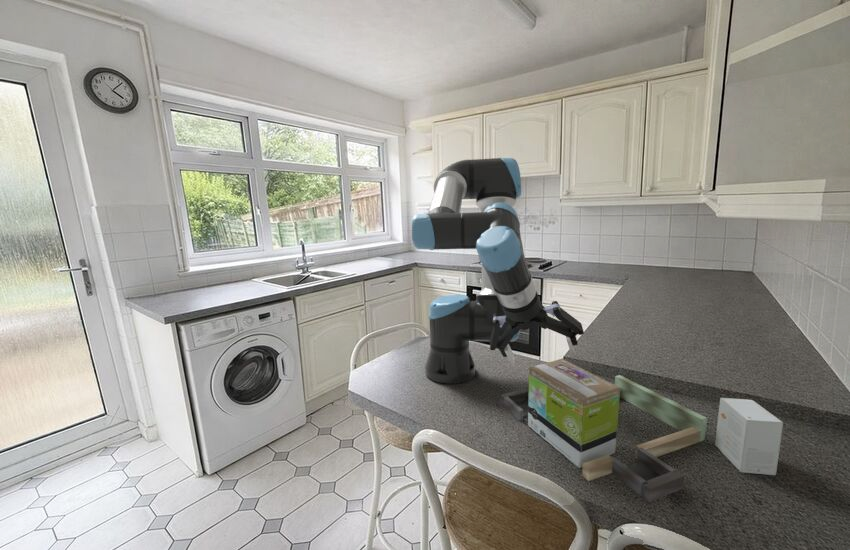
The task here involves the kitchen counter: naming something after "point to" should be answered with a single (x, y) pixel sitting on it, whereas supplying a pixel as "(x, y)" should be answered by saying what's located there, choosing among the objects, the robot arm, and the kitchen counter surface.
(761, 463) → the small box
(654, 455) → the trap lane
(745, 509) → the kitchen counter surface
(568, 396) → the tea box
